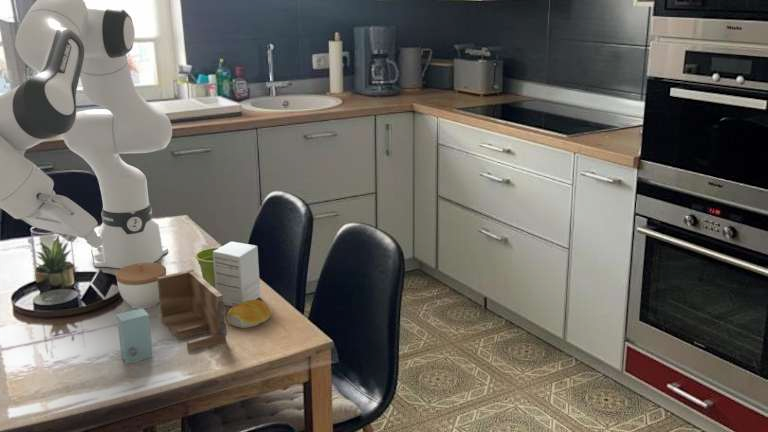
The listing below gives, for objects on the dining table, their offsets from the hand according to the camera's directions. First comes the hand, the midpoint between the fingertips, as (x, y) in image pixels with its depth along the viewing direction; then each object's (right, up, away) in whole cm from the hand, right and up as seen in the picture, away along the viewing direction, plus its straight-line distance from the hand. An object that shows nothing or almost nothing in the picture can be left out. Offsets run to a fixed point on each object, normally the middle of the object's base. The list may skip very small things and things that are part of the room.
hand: (86, 241), depth 138 cm
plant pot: (+15, -13, +43) cm, 47 cm away
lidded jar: (-1, -15, +36) cm, 39 cm away
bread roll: (+24, -18, +28) cm, 41 cm away
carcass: (+14, -19, +22) cm, 32 cm away
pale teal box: (+5, -23, +12) cm, 26 cm away
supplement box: (+20, -15, +37) cm, 44 cm away
